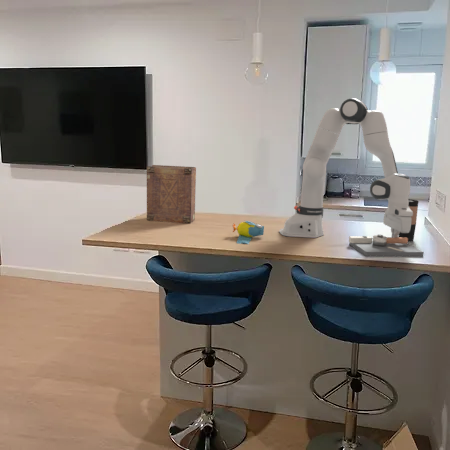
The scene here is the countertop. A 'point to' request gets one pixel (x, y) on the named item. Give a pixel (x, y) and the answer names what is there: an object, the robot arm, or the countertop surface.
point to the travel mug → (414, 207)
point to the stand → (383, 248)
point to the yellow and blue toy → (248, 231)
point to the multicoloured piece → (388, 240)
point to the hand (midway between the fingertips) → (394, 238)
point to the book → (171, 193)
